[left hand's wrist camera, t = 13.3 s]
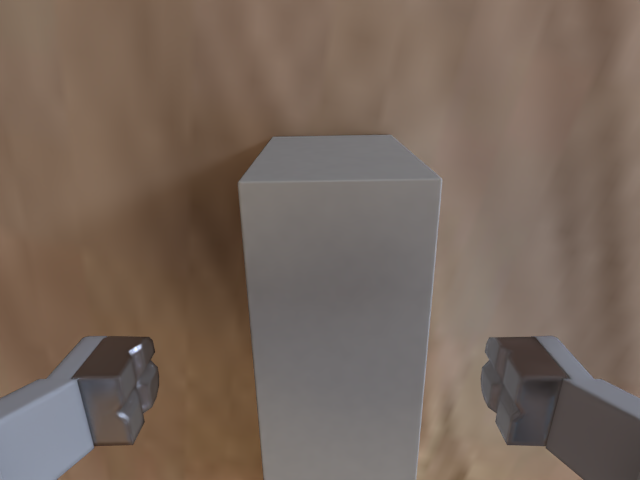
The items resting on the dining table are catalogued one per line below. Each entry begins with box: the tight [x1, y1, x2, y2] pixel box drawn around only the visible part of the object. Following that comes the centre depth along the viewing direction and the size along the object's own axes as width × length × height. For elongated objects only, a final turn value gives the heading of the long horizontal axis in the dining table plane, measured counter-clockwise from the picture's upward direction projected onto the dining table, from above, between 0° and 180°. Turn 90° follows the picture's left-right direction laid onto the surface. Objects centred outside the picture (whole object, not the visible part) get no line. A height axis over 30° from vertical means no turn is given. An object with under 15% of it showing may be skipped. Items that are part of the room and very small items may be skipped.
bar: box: [238, 135, 442, 480], centre depth 20 cm, size 24×6×9 cm, turn 1°
